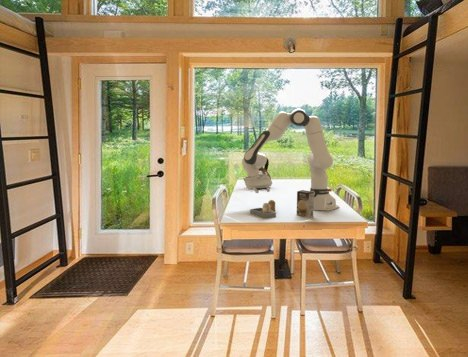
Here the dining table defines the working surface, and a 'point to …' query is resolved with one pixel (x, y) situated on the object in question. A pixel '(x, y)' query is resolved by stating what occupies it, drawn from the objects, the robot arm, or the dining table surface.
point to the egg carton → (260, 213)
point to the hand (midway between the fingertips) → (263, 192)
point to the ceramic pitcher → (265, 169)
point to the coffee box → (305, 203)
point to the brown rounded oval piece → (272, 205)
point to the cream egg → (266, 208)
